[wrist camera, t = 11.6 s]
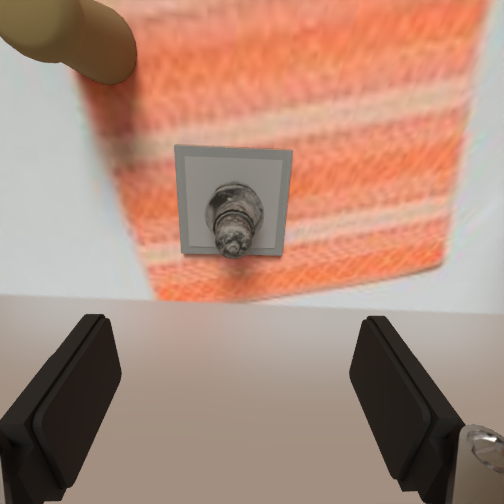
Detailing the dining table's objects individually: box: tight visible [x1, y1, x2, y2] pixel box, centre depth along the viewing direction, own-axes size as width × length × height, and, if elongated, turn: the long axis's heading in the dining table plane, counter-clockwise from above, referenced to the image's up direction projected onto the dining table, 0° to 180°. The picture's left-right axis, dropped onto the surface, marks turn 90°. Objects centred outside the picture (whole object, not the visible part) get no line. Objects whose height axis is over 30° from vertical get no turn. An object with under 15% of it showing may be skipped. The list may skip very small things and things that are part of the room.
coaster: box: [174, 144, 293, 256], centre depth 32 cm, size 12×12×1 cm
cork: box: [0, 0, 137, 85], centre depth 20 cm, size 6×6×11 cm
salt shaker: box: [204, 181, 264, 259], centre depth 26 cm, size 6×6×12 cm
